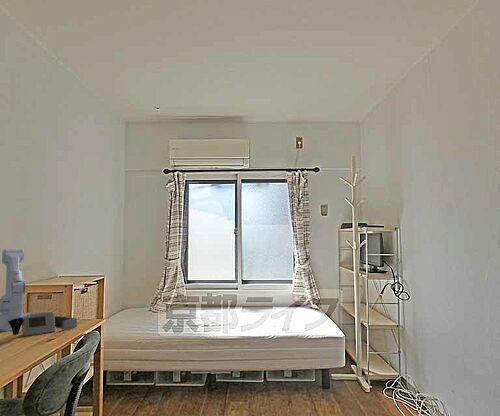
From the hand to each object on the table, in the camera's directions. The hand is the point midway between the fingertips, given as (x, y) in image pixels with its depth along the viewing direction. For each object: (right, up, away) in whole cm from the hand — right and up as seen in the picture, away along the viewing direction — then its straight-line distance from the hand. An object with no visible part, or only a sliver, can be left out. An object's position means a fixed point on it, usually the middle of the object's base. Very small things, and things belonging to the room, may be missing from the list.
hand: (15, 334), depth 210 cm
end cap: (+10, -4, +25) cm, 28 cm away
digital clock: (+5, -3, +12) cm, 14 cm away
